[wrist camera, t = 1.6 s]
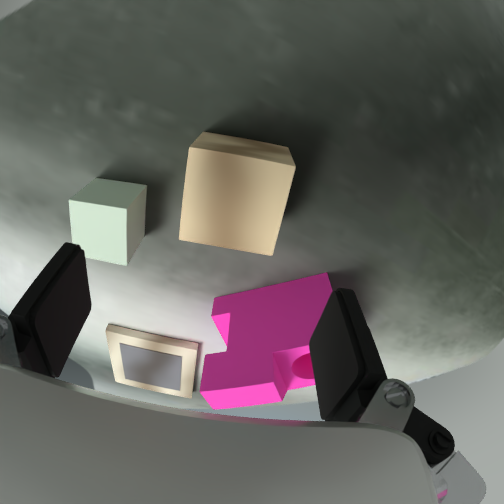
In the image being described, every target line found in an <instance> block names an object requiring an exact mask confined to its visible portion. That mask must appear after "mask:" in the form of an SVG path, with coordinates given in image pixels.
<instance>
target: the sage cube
mask: <svg viewBox="0 0 504 504" xmlns="http://www.w3.org/2000/svg"><path fill="white" fill-rule="evenodd" d="M146 194H147V185H142V184H135V183H129V182H121V181H114V180H107V179H99V178H95V179H94V180H93V181H91V182H90V183H89V184H88V185H86V186H85V187H84V188H83V189H81V190H80V191H79V192H78V193H77V194H75V195H74V196H73V197H72V198H71V199H69V209H70V222H71V233H72V243H73V244H78V245H80V247H81V249H83V250H84V252H85V257H87V258H91V259H96V260H101V261H106V262H110V263H115V264H120V265H125V266H127V265H128V263H129V262H130V260H131V258H132V256H133V255H134V253H135V251H136V249H137V248H138V246H139V244H140V243H141V241H142V239H143V238H144V236H145V212H146Z"/></svg>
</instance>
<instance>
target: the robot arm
mask: <svg viewBox="0 0 504 504" xmlns="http://www.w3.org/2000/svg"><path fill="white" fill-rule="evenodd" d="M90 310H91V298H90V291H89V284H88V277H87V269H86V260H85V252H84V250H83V249H81V247H80V245H78V244H73V243H68V242H66V243H64V244H63V246H62V247H61V248H60V249H59V250H58V252H57V253H56V254H55V255H54V256H53V258H52V259H51V260H50V261H49V263H48V264H47V265H46V266H45V268H44V269H43V270H42V271H41V273H40V274H39V275H38V276H37V278H36V279H35V280H34V282H33V283H32V284H31V286H30V287H29V288H28V290H27V291H26V292H25V294H24V295H23V296H22V298H21V299H20V301H19V302H18V303H17V305H16V306H15V308H14V309H13V310H12V312H11V314H10V315H9V317H8V318H7V317H5V316H3V315H0V504H479V503H480V502H481V501H482V499H483V498H484V496H485V494H486V485H485V482H484V480H483V478H482V477H481V476H480V475H479V474H478V473H477V471H476V470H475V469H474V468H473V467H472V466H471V464H470V463H469V462H468V461H467V460H466V459H465V457H464V456H463V455H462V454H461V453H460V452H459V451H457V452H455V451H454V447H455V444H454V439H453V436H452V435H451V433H450V432H449V431H448V430H447V429H446V428H444V427H443V426H441V425H440V424H439V423H437V422H435V421H434V420H433V419H431V418H430V417H428V416H427V415H425V414H424V413H423V412H421V411H420V410H418V409H417V408H416V407H414V403H415V397H414V394H413V391H412V390H411V388H410V387H409V386H408V385H407V384H406V383H404V382H403V381H401V380H398V379H387V376H386V373H385V370H384V367H383V364H382V362H381V359H380V356H379V353H378V350H377V348H376V345H375V342H374V340H373V337H372V334H371V332H370V329H369V327H368V326H367V323H366V321H365V318H364V316H363V313H362V310H361V308H360V305H359V303H358V300H357V298H356V295H355V293H354V291H353V290H351V289H343V288H338V289H337V290H336V291H332V293H331V295H330V297H329V299H328V301H327V304H326V306H325V308H324V310H323V313H322V315H321V317H320V319H319V321H318V323H317V326H316V328H315V330H314V332H313V334H312V336H311V338H310V342H309V350H310V356H311V362H312V367H313V373H314V379H315V385H316V391H317V397H318V403H319V409H320V415H321V418H322V419H323V420H325V421H296V420H275V419H274V420H273V419H260V418H259V419H258V418H248V417H236V416H227V415H220V414H211V413H204V412H196V411H191V410H184V409H178V408H172V407H167V406H161V405H156V404H151V403H146V402H142V401H137V400H132V399H128V398H124V397H119V396H115V395H111V394H107V393H103V392H100V391H96V390H92V389H89V388H85V387H81V386H78V385H74V384H72V383H68V382H65V381H61V380H58V379H55V377H59V376H60V374H61V372H62V369H63V367H64V365H65V362H66V360H67V358H68V356H69V354H70V352H71V350H72V348H73V345H74V343H75V341H76V339H77V337H78V335H79V333H80V331H81V329H82V327H83V325H84V323H85V321H86V319H87V317H88V315H89V313H90Z"/></svg>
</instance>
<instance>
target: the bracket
mask: <svg viewBox="0 0 504 504" xmlns="http://www.w3.org/2000/svg"><path fill="white" fill-rule="evenodd" d="M331 293H332V287H331V284H330V281H329V277H328V274H327V272H326V273H322V274H318V275H314V276H310V277H306V278H301V279H297V280H293V281H289V282H284V283H280V284H275V285H271V286H267V287H262V288H258V289H253V290H249V291H244V292H240V293H235V294H230V295H226V296H221V297H216V298H214V303H213V309H212V315H211V317H212V319H213V321H214V322H215V324H216V326H217V328H218V330H219V332H220V334H221V336H222V338H223V340H224V342H225V343H226V345H227V351H226V352H220V353H213V354H207V355H205V359H204V366H203V373H202V379H201V386H200V393H201V394H202V396H203V397H204V398H205V399H206V401H207V402H208V403H209V404H210V406H211V407H212V408H213V409H214V410H215V409H225V408H235V407H244V406H252V405H259V404H266V403H273V402H280V401H282V400H283V398H284V396H285V394H286V392H287V390H291V389H296V388H302V387H307V386H312V385H315V379H314V373H313V367H312V362H311V356H310V350H309V342H310V338H311V336H312V334H313V332H314V330H315V328H316V326H317V323H318V321H319V319H320V317H321V315H322V313H323V310H324V308H325V306H326V304H327V301H328V299H329V297H330V295H331Z"/></svg>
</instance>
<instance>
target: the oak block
mask: <svg viewBox="0 0 504 504" xmlns="http://www.w3.org/2000/svg"><path fill="white" fill-rule="evenodd" d="M295 168H296V166H295V163H294V161H293V158H292V156H291V153H290V151H289V149H288V147H284V146H280V145H275V144H270V143H265V142H260V141H255V140H250V139H244V138H239V137H233V136H227V135H221V134H215V133H209V132H203V133H202V134H201V135H200V136H199V137H198V138H197V139H196V140H195V141H194V143H193V144H192V145H191V146H190V147H189V154H188V161H187V169H186V177H185V185H184V194H183V203H182V213H181V223H180V233H179V240H184V241H190V242H196V243H201V244H207V245H213V246H219V247H224V248H230V249H236V250H241V251H247V252H253V253H258V254H264V255H270V256H272V254H273V251H274V247H275V243H276V240H277V236H278V232H279V229H280V225H281V221H282V217H283V214H284V210H285V206H286V202H287V199H288V195H289V191H290V187H291V183H292V179H293V176H294V172H295Z"/></svg>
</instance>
